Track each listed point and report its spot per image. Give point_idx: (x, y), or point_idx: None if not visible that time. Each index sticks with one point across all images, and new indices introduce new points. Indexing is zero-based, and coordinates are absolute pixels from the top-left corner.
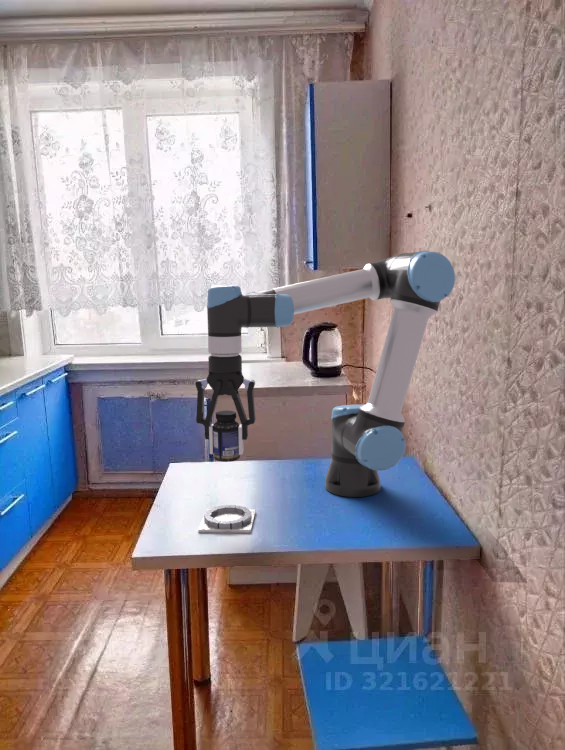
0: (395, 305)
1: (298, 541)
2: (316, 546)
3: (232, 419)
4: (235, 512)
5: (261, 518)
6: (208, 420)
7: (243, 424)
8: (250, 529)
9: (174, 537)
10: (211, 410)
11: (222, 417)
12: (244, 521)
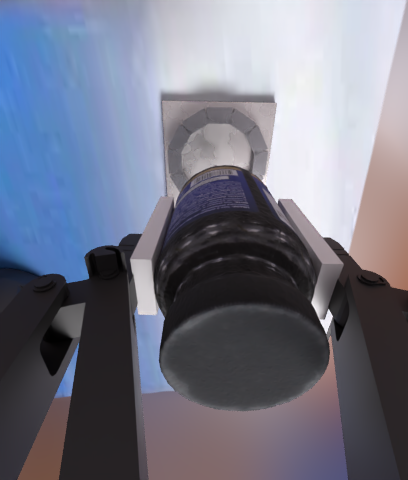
0: None
1: (51, 54)
2: (3, 23)
3: (184, 292)
4: None
5: (153, 177)
6: (368, 295)
7: (112, 270)
8: (162, 102)
9: (326, 73)
10: (392, 367)
11: (267, 286)
12: (177, 128)
